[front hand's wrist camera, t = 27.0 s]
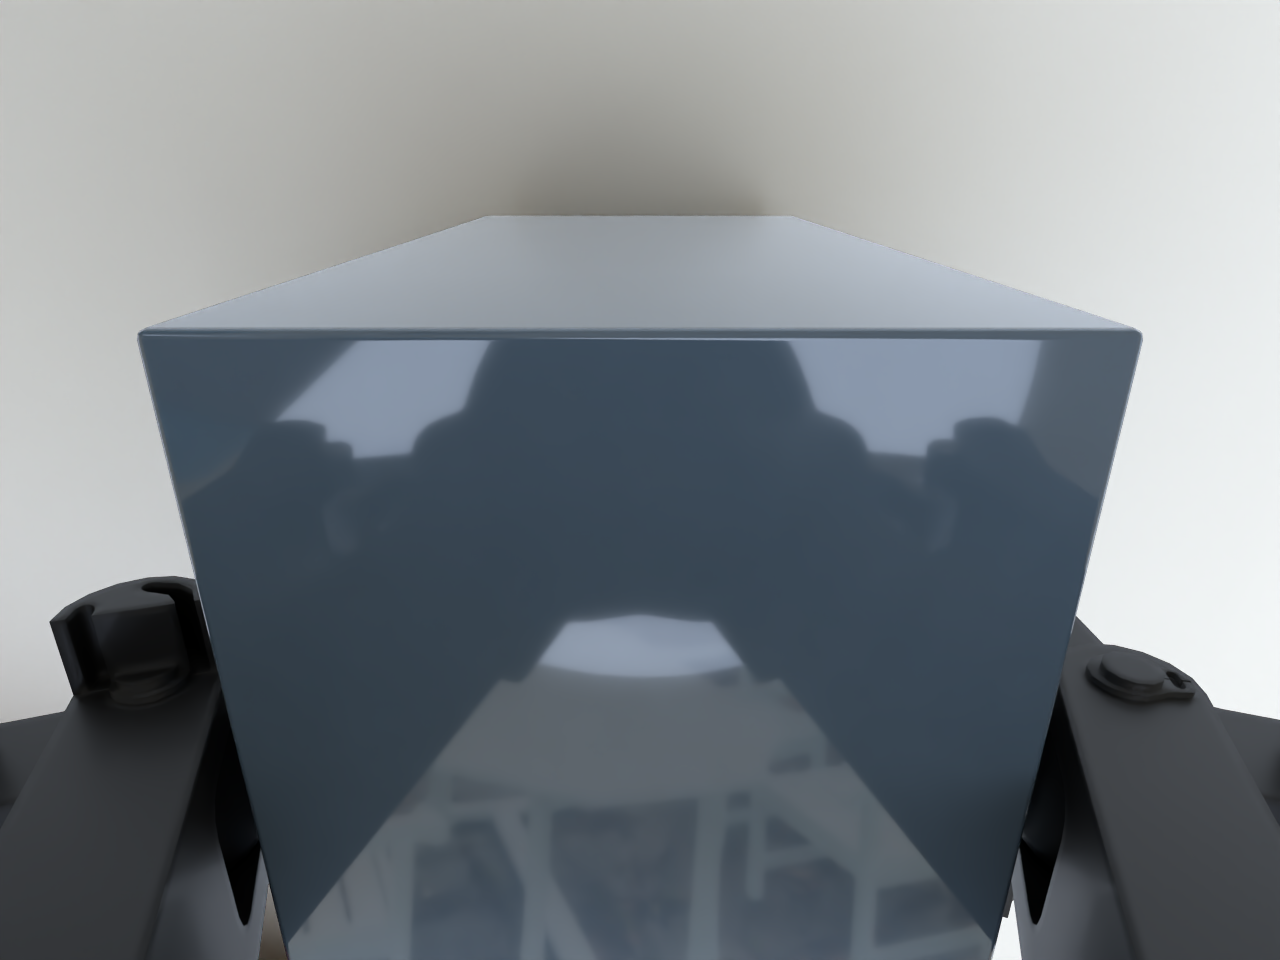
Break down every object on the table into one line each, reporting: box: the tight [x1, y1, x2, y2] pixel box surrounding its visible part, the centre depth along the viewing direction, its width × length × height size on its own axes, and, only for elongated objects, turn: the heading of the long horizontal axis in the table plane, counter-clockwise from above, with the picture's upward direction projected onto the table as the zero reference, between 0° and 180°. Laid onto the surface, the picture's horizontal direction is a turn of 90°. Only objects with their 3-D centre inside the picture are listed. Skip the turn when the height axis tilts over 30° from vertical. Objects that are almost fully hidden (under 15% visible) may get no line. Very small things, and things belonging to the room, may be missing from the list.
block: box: [137, 216, 1143, 960], centre depth 12 cm, size 9×6×12 cm
